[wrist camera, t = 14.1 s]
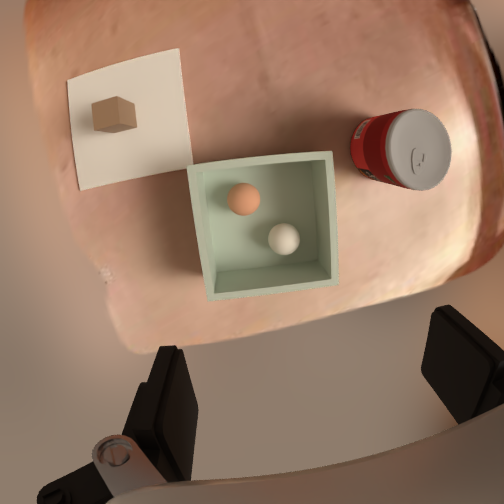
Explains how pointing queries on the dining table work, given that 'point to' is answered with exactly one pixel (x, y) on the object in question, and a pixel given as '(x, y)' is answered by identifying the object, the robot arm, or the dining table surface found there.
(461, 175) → the dining table surface
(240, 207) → the ball terracotta
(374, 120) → the canned food
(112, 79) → the lid
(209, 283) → the box
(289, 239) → the ball cream
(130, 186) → the dining table surface
